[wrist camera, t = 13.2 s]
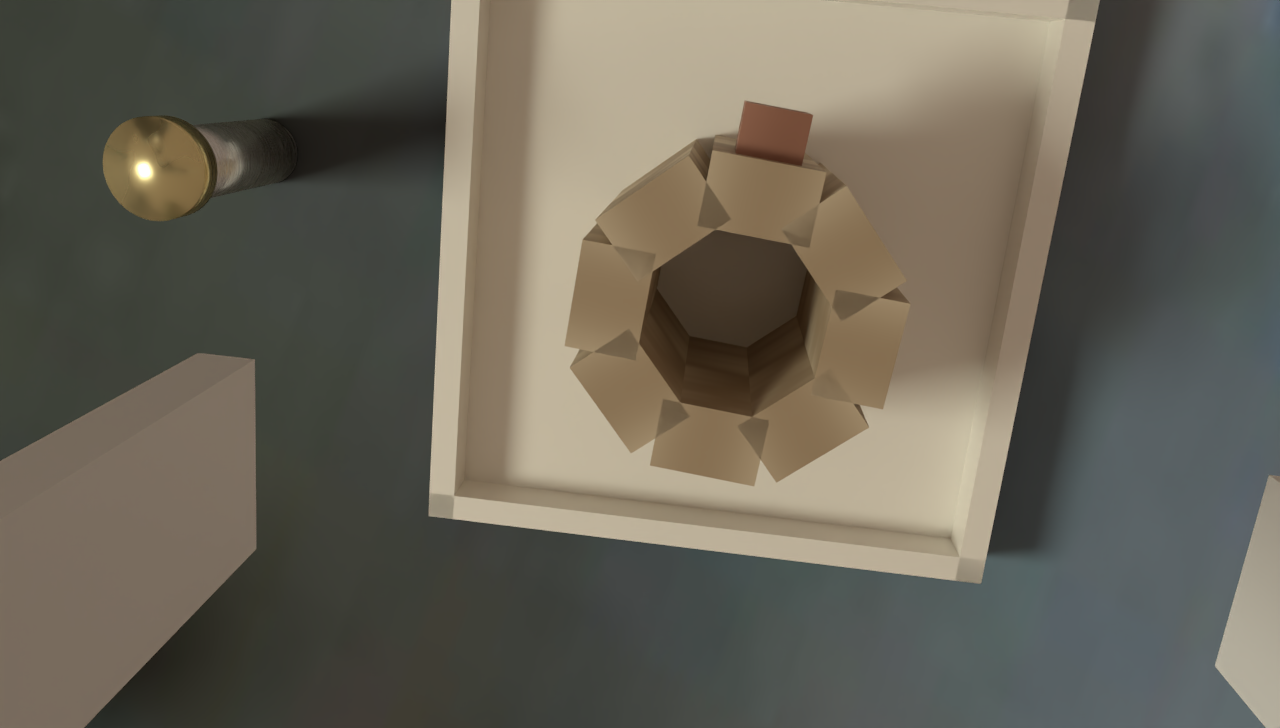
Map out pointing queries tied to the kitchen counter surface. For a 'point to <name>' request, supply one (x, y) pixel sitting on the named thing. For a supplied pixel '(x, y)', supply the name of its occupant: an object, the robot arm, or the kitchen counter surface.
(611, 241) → the ring
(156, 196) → the stake
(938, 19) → the tray
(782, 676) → the kitchen counter surface
